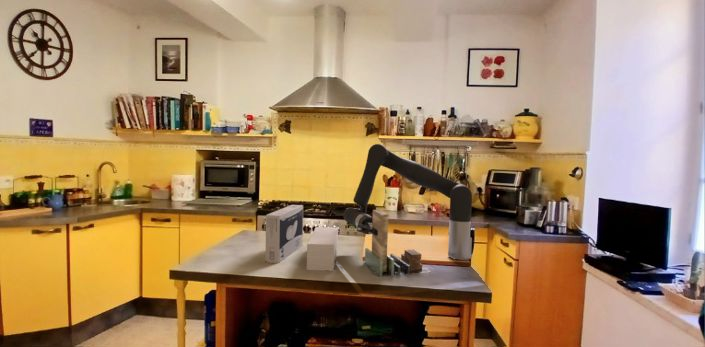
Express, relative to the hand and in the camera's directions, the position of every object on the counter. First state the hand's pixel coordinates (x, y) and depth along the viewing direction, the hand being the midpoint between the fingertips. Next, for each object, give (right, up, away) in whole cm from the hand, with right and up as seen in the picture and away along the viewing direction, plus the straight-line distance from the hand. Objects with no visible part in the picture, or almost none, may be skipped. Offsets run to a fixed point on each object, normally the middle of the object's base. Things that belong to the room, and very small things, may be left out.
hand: (380, 232), depth 144 cm
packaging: (-42, -14, +27) cm, 51 cm away
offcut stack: (+13, -14, +6) cm, 20 cm away
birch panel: (-1, -14, +2) cm, 14 cm away
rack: (+7, -16, +5) cm, 18 cm away
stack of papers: (-24, -15, +19) cm, 34 cm away
